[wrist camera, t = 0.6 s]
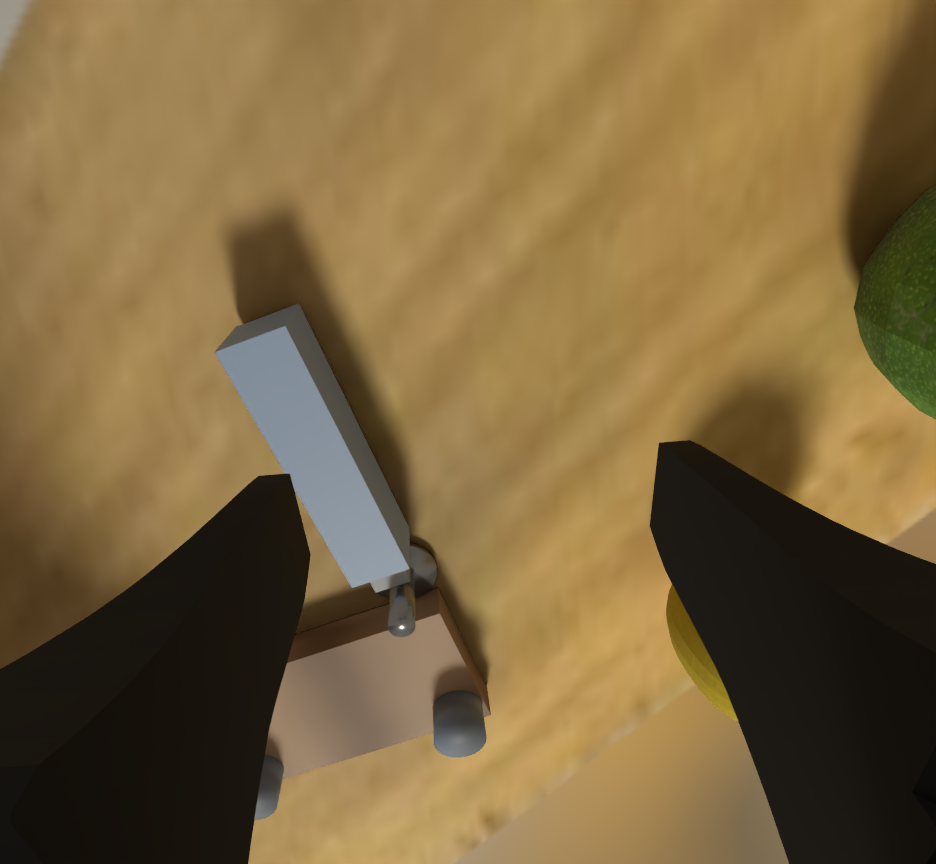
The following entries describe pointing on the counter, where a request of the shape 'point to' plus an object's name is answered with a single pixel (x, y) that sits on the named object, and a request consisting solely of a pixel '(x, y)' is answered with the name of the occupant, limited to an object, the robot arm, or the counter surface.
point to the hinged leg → (319, 445)
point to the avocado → (903, 304)
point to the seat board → (373, 694)
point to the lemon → (695, 655)
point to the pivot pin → (410, 591)
